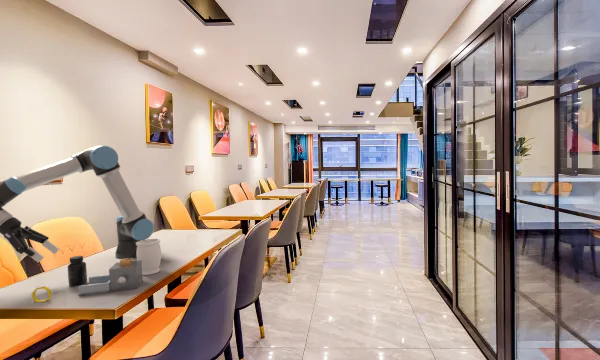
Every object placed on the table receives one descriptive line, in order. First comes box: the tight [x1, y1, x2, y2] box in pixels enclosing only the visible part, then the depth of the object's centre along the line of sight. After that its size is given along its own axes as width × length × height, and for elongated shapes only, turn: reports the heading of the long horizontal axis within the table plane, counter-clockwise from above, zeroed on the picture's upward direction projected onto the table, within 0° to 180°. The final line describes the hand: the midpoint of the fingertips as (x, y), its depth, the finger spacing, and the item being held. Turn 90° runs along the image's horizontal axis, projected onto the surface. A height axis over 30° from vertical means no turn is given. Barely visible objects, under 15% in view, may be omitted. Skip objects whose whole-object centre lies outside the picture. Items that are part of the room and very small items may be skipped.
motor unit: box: [77, 257, 144, 297], centre depth 138 cm, size 14×21×11 cm, turn 104°
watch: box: [31, 284, 52, 303], centre depth 127 cm, size 6×3×6 cm, turn 98°
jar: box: [136, 238, 162, 276], centre depth 157 cm, size 11×10×15 cm
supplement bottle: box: [67, 255, 88, 288], centre depth 145 cm, size 7×7×12 cm
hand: (49, 255), depth 142 cm, fingers open, 13 cm apart
